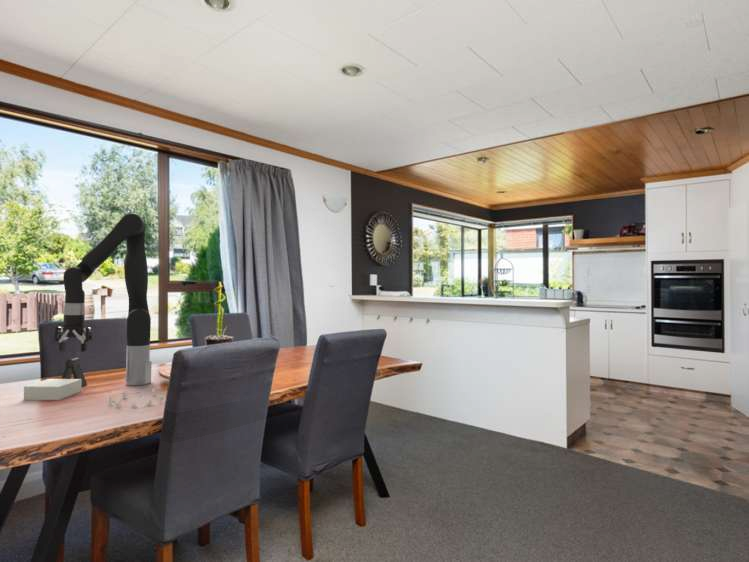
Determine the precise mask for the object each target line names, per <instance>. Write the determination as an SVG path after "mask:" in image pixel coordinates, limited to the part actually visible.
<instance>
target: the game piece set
mask: <svg viewBox="0 0 749 562" xmlns="http://www.w3.org/2000/svg"><path fill="white" fill-rule="evenodd" d="M151 392H152V393H151V394H152V396H153V397H155V396H156V389H155V388H152V390H151ZM120 394H121V396H122V399H120V400H119V401H118V402H117V401H115V399H114V397H116V393H114V394H113V396H111V395H110V396H109V397H108V403H106V405H107V407H110V406H115V407H116V408H122V403H121V402H122V401H123V399H126V397H127V396H128V395H127V392H126V390H122V391H121V392H120ZM143 394H144V392H141V393H140V394H138V395H137V397H142V395H143ZM157 398H158V401H157V402H159V403H162V402H163V398H164V395H163V394H162V393H161V394H160V395H158V396H157ZM114 403H115V404H114ZM145 404H146V405H148V406H151V404H153V400H152V398H151V399H149V401H147V402H146V403H145ZM130 408H131V409H136V408H137V404H136V403H135V402H132V403H131V406H130Z"/></svg>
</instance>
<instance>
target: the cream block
mask: <svg viewBox="0 0 749 562" xmlns="http://www.w3.org/2000/svg"><path fill="white" fill-rule="evenodd" d="M81 386H82V379H74V378H71V379H61V378H48V379H43V380H41V381H38V382H33V383H30V384H27V385H24V386H23V401H26V400H27V401H29V400H30V401H60V400H62V399H64V398H65V399H66V398H68V397H70V396H72V395H73V396H74V395H75V394H78V393H80V392H82V388H81Z"/></svg>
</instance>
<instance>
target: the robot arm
mask: <svg viewBox="0 0 749 562" xmlns="http://www.w3.org/2000/svg"><path fill="white" fill-rule="evenodd" d="M145 237H146V221H145V220H144V219H143V217H141V216H140V215H138V214H136V213H125V214H124V215H123V216H122V217H121V218H120V219H119V220H118V222H117V223H116V224H115V226H114V227H113V228H112V229H111V231H110V232H109V233H107V235H106V236H105V237H104V238H102V239H101V240H100V241H99V242H98V243H97V244H96V245H95V246H94V247H92V248H91V249H90V250H89V251H88V252H87V253H86V254H85V255H83V257H82V258H81V261H80V262H79V263H78V264H77V265H76V266H71V267H68V268H66V269H65V271H64V273H63V285H64V291H65V294H64V297H65V298H64V307H63V326H57V327H55V331H54V341H55V342H57V343H58V345H59V347H58V348H59V352H60V353H61V352H65V351H66V341H67V340H68V339H69V338H74V339H76V338H77V339H78V340H79V341H80V342H81V343H80V352H81V353H84V352H86V351H87V350H88V349H87V347H88V343H89V342H93V330H92V327H85V320H86V319H85V317H86V316H85V314H86V306H85V305H86V304H85V301H86V300H85V299H86V296H85V295H86V293H85V291H84V289H83V283H84V282H85V281H87V280H88V279H89V278H90V277H91V276H92V274H93V273H94V272H95V271H96V269H98V268H99V267H100V266H101V265H102V264H104V262H106V261H107V260H108V259H109V258H110V257H111V256H112V254H113V253H114V252H115V251H116V249H118V247H119V246H120V245H121V244H122V243H123V242H124V241H125V242H126V251H125V257H124V262H123V270H124V272H123V273H124V282H125V288H126V292H127V296H128V311H127V312H128V313H127V314H128V315H127V319H126V359H125V361H126V363H125V364H126V365H125V366H126V367H125V385H126V386H145V385H147V384H149V383H152V361H151V360H150V359H151V357H150V356H151V355H150V354H151V351H150V350H151V328H152V327H151V323H152V322H151V321H152V320H151V319H152V318H151V314H150V310H149V305H148V297H147V296H148V289H149V288H148V287H149V285H148V283H149V272H148V261H147V254H146V248H145V247H146V244H145V242H146V240H145V239H146V238H145ZM63 332H64V333H63Z"/></svg>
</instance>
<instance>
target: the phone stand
mask: <svg viewBox="0 0 749 562" xmlns="http://www.w3.org/2000/svg"><path fill="white" fill-rule="evenodd" d="M80 364H81V359H80V358H79V357H73V358H71V359H67V360H66V362H65V369H64V370H63V374H62V376H61V378H60V379H72V376H73V379H82V386H81V389H82V388H83V387H85V386H87V385H88V383H87V379H86V377H85V375H84V371H83V370H82V366H81V365H80Z"/></svg>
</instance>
